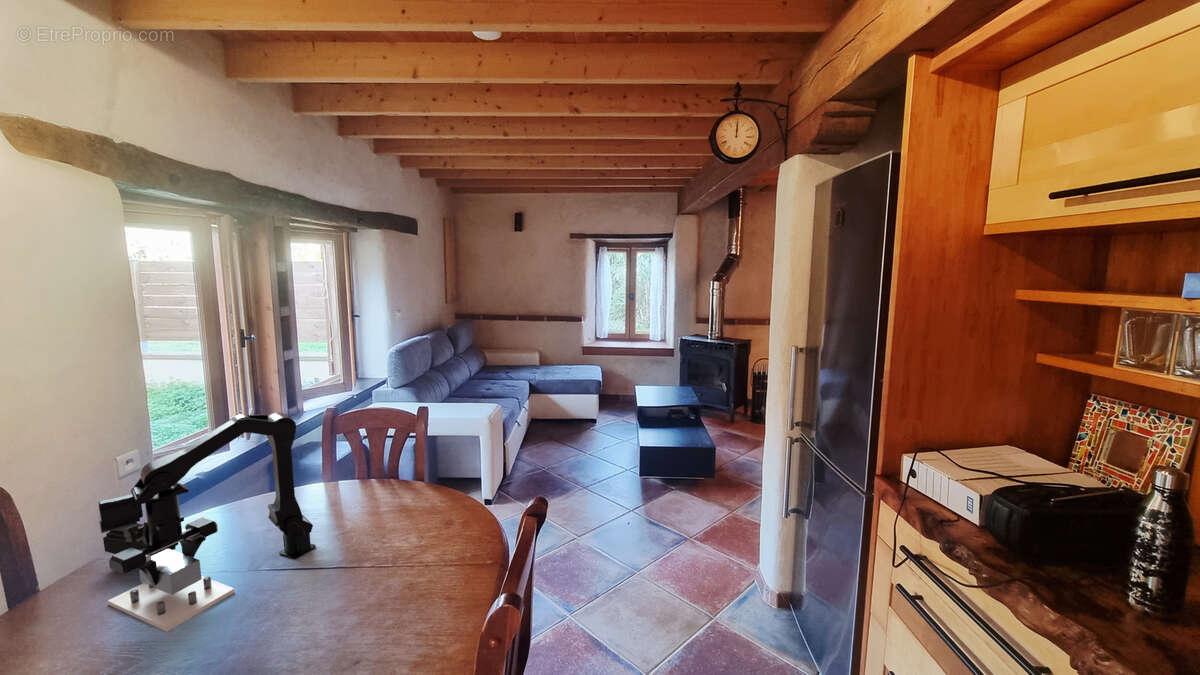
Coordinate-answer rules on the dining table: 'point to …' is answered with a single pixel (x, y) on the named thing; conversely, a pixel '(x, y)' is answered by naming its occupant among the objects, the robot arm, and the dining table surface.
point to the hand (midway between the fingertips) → (170, 576)
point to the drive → (174, 571)
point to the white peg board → (170, 602)
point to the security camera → (125, 542)
